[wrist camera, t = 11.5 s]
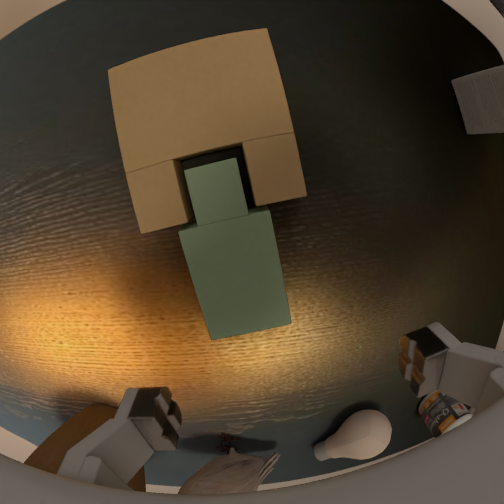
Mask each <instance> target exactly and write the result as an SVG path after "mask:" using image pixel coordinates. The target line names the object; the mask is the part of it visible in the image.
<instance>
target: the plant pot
mask: <svg viewBox="0 0 504 504" xmlns="http://www.w3.org/2000/svg"><path fill="white" fill-rule="evenodd" d="M117 410H118V409H116V408H114V407H111V406H108V405H104V404H92V405H90V406H88V407H87V408H85V409H84V410H82V411H81V412H79V413H78V414H76V415H75V416H73V417H72V418H71V419H69V420H68V421H67V422H65V423H64V424H63V425H62V426H61V427H59V428H58V429H57V430H56V431H55V432H53V433H52V434H51V435H50V436H49V437H48V438H47V439H46V440H45V441H44V442H43V443H42V444H41V445H40V446H39V447H38V448H37V449H36V450H35V451H34V452H33V453H32V454H31V455H30V456H29V457H28V459H27V460H26V461H25V462H24V464H27V465H29V466H32V467H35V468H38V469H41V470H44V471H47V472H50V473H53V474H57V472H58V470H59V468H60V466H61V463H62V461H63V459H64V457H65V455H66V453H67V451H68V450H69V449H70V448H72V447H73V446H75V445H76V444H77V443H79V442H80V441H81V440H83V439H84V438H85V437H87V436H88V435H89V434H91V433H92V432H93V431H95V430H96V429H97V428H99V427H100V426H101V425H103V424H104V423H105V422H107V421H108V420H109V419H114V417H115V415H116V413H117ZM127 485H128V486H129V487H131V488H132V489H133V490H134V491H141V492H146V487H145V486H146V485H145V474H144V465H143V466H142V467H141V468H140V470H139V471H138V472H137V473H136V474H135V475H134V476H133V477H132V479H131V480H130V481H129V482H128V483H127Z"/></svg>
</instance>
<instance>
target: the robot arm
mask: <svg viewBox="0 0 504 504" xmlns="http://www.w3.org/2000/svg"><path fill="white" fill-rule="evenodd" d="M399 345H400V347H401V348H402V351H401V352H400V354H399V355H398V365H399V370H400V372H401V374H402V376H403V377H404V379H407V380H409V381H411V382H410V387H411V389H412V390H413V392H414V393H415V395H416V396H417V398H420V397H422V396H425V395H427V394H429V393H432V392H434V391H436V390H438V391H439V392H441V393H443V394H445V395H447V396H450V397H452V398H454V399H456V400H458V401H460V402H462V403H464V404H466V405H469V406H471V407H473V408H475V412H474V414H473V416H472V418H470V419H469V420H467V421H465V422H464V423H462V424H460V425H459V426H457V427H455V428H453V429H452V430H450V431H448V432H446V433H444V434H442V435H440V436H438V437H436V438H434V439H432V440H430V441H428V442H426V443H424V444H422V445H420V446H418V447H416V448H413V449H411V450H409V451H407V452H404V453H402V454H399V455H397V456H395V457H392V458H390V459H387V460H384V461H382V462H379V463H376V464H373V465H371V466H367V467H364V468H361V469H358V470H355V471H352V472H349V473H346V474H342V475H338V476H334V477H330V478H327V479H322V480H318V481H314V482H309V483H305V484H300V485H294V486H289V487H283V488H277V489H270V490H262V491H254V492H244V493H230V494H205V495H189V494H164V493H150V492H141V491H134V490H133V489H132V488H131V487H129V486H128V485H127V483H128V482H129V481H130V480H131V479H132V477H133V476H134V475H135V474H136V473H137V472H138V471H139V470H140V468H141V467H142V466H143V465H144V464H145V463H146V462H147V460H148V459H149V458H150V457H151V456H152V455H153V453H154V451H173V450H176V449H177V444H178V439H179V436H178V434H177V433H176V431H177V430H178V429H179V428H180V427H181V422H182V419H181V412H180V408H179V406H178V404H177V403H176V402H175V401H173V400H171V397H172V393H171V391H170V390H169V388H168V387H144V388H129V389H127V390H126V392H125V394H124V396H123V399H122V401H121V403H120V406H119V408H118V410H117V413H116V415H115V417H114V419H109V420H108V421H107V422H105V423H104V424H103V425H101V426H100V427H99V428H97V429H96V430H95V431H93V432H92V433H91V434H89V435H88V436H87V437H85V438H84V439H83V440H81V441H80V442H79V443H77V444H76V445H75V446H73V447H72V448H70V449H69V450H68V451H67V453H66V455H65V457H64V459H63V461H62V463H61V466H60V468H59V470H58V472H57V474H53V473H50V472H47V471H44V470H41V469H38V468H35V467H32V466H29V465H27V464H24V463H21V462H19V461H16V460H14V459H11V458H9V457H7V456H5V455H3V454H0V504H504V351H500V350H496V349H492V348H487V347H483V346H479V345H475V344H470V343H466V342H464V343H461V342H459V341H458V340H457V339H456V338H455V337H454V336H453V335H452V334H451V333H450V332H449V331H448V330H446V329H445V328H444V327H443V326H442V325H441V324H440V323H438V322H434V323H432V324H430V325H427V326H425V327H423V328H421V329H418V330H415V331H413V332H410V333H407V334H405V335H402V336H401V338H400V344H399Z"/></svg>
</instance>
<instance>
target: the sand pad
mask: <svg viewBox="0 0 504 504" xmlns="http://www.w3.org/2000/svg"><path fill="white" fill-rule="evenodd" d="M108 76H109V84H110V92H111V99H112V105H113V112H114V118H115V124H116V129H117V135H118V140H119V145H120V150H121V155H122V160H123V164H124V169H125V173H126V178H127V182H128V186H129V190H130V194H131V198H132V202H133V206H134V210H135V214H136V217H137V221H138V225H139V228H140V232H141V234H145V233H149V232H152V231H156V230H160V229H164V228H168V227H172V226H176V225H180V224H184V223H187V222H188V221H189V220H190V219H191V218H192V217H193V216H194V215H193V211H192V207H191V203H190V198H189V194H188V190H187V186H186V182H185V178H184V173H183V169H182V165H181V161H182V160H185V159H189V158H193V157H197V156H201V155H205V154H209V153H213V152H217V151H221V150H225V149H230V148H234V147H239V146H242V151H243V156H244V160H245V164H246V169H247V173H248V178H249V183H250V187H251V192H252V196H253V201H254V203H255V205H256V206H261V205H266V204H271V203H275V202H280V201H285V200H290V199H295V198H300V197H305V196H307V192H306V187H305V182H304V177H303V172H302V167H301V162H300V157H299V152H298V148H297V143H296V139H295V134H294V133H293V132H294V130H293V125H292V121H291V117H290V113H289V108H288V104H287V100H286V96H285V92H284V88H283V84H282V81H281V77H280V73H279V69H278V66H277V62H276V58H275V55H274V51H273V48H272V44H271V41H270V38H269V34H268V31H267V28H263V29H255V30H248V31H242V32H236V33H230V34H225V35H220V36H215V37H210V38H206V39H201V40H197V41H193V42H189V43H185V44H181V45H178V46H174V47H171V48H167V49H164V50H161V51H158V52H155V53H152V54H149V55H146V56H143V57H140V58H137V59H135V60H132V61H129V62H127V63H124V64H121V65H119V66H116V67H114V68H112V69H109V70H108Z"/></svg>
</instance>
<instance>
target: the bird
mask: <svg viewBox="0 0 504 504" xmlns="http://www.w3.org/2000/svg"><path fill="white" fill-rule="evenodd" d="M222 434H223V435H224V436H225V437H220V436H219V437H220V438H223V439H225V440H224V441H222V442H226V441H228V440H229V446H223V445H221V444H220V445H221V446H222V447H223V448H219V447H217V448H219V449H222V451H220V452H225V451H226V450H227V455H224V456H221V457H218V458H216V459H214V460H212V461H210V462H209V463H208V464H206V465H205V466H204V467H202V468H201V469H200V470H198V471H197V472H196V473H195V474H193V475H192V476H191V477H190V478H189V479H188V480H187V481H186V482H185V483H184V484H183V485H182V487H181V488H180V490H179V492H178V494H189V495H205V494H230V493H244V492H254V491H257V488H258V486H259V485H260V484H261V482H262V481H263V480H264V479H265V477H266V476H267V475H268V474H269V473H270V472H271V471H272V470H273V468H272V466H273V465H274V464H275V463H276V462H277V459H278V458H279V456H280V455H278V452H276V453H275V452H273V453H272V454H271V455H269V456H268V457H267V458H266V459H265V460H264V458H262V457H260V456H253V455H246V454H240V453H236V452H235V450H238V449H234V448H233V447H232V445H231V440H233V439H234V440H239V439H242V438H235V437H233V436H232V435H225V434H224V433H222ZM229 450H230V452H229Z"/></svg>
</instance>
